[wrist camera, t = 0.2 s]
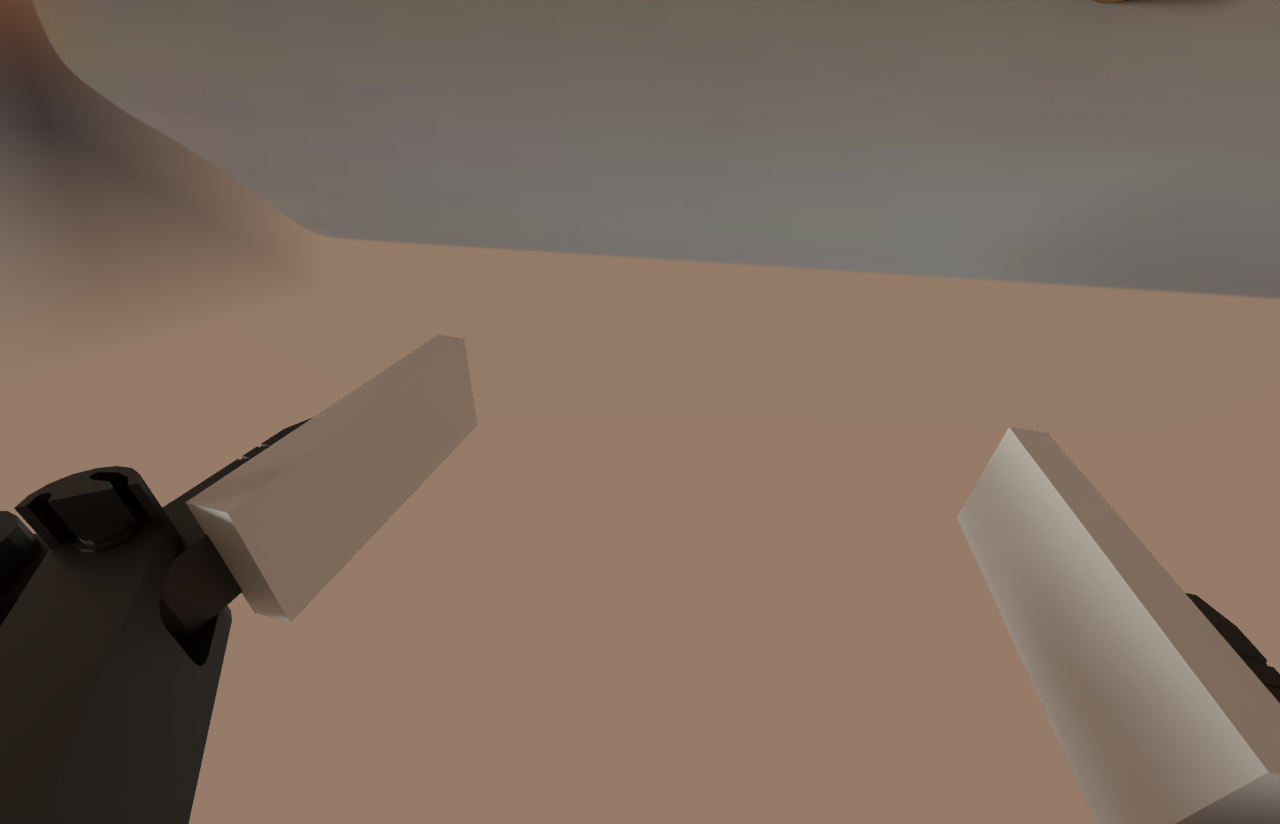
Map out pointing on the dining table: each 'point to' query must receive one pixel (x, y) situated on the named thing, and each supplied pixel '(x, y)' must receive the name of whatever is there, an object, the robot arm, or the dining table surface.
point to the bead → (1107, 1)
